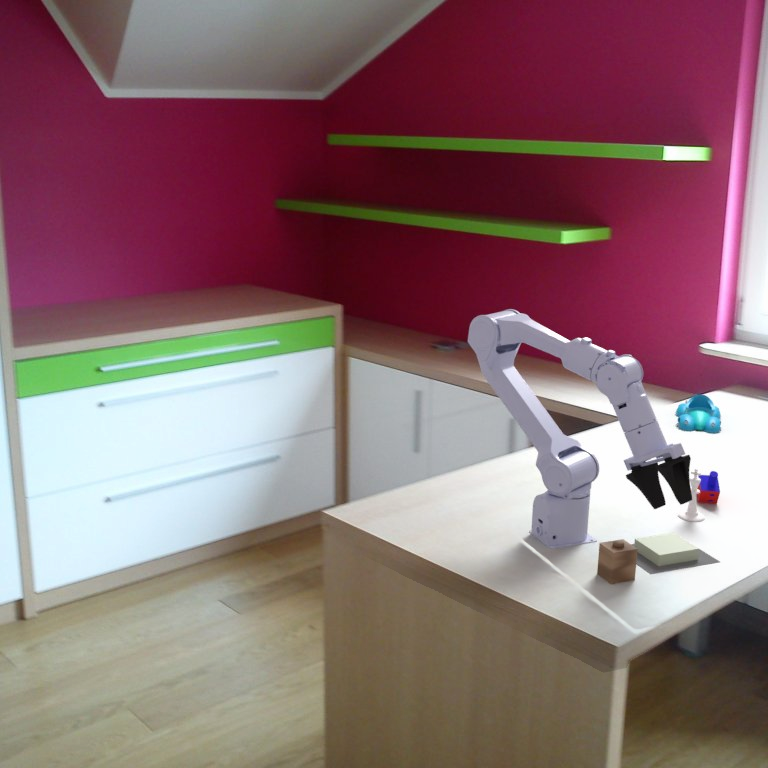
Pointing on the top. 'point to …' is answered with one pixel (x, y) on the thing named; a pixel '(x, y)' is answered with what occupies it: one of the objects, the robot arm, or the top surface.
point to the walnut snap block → (617, 561)
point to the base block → (666, 549)
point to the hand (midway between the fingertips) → (672, 504)
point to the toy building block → (708, 488)
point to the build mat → (653, 568)
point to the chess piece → (693, 501)
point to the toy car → (699, 415)
